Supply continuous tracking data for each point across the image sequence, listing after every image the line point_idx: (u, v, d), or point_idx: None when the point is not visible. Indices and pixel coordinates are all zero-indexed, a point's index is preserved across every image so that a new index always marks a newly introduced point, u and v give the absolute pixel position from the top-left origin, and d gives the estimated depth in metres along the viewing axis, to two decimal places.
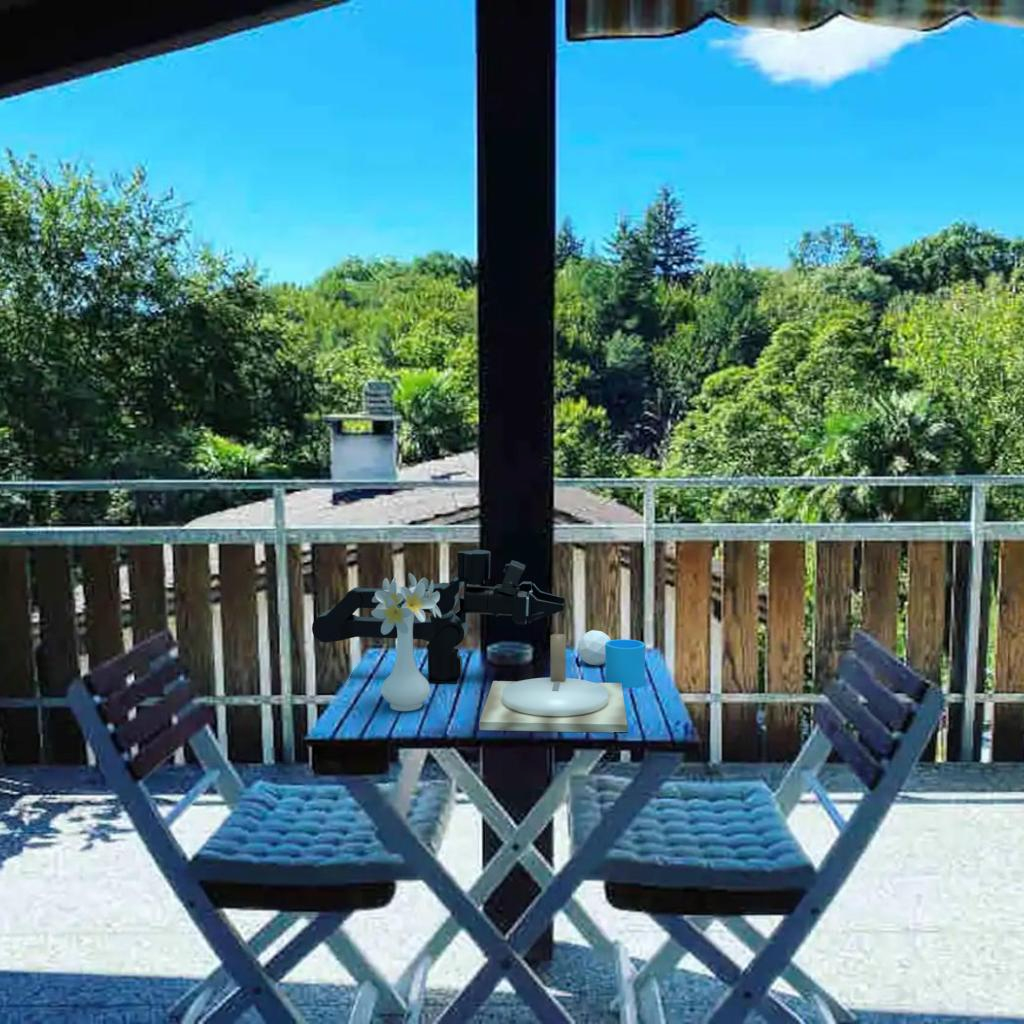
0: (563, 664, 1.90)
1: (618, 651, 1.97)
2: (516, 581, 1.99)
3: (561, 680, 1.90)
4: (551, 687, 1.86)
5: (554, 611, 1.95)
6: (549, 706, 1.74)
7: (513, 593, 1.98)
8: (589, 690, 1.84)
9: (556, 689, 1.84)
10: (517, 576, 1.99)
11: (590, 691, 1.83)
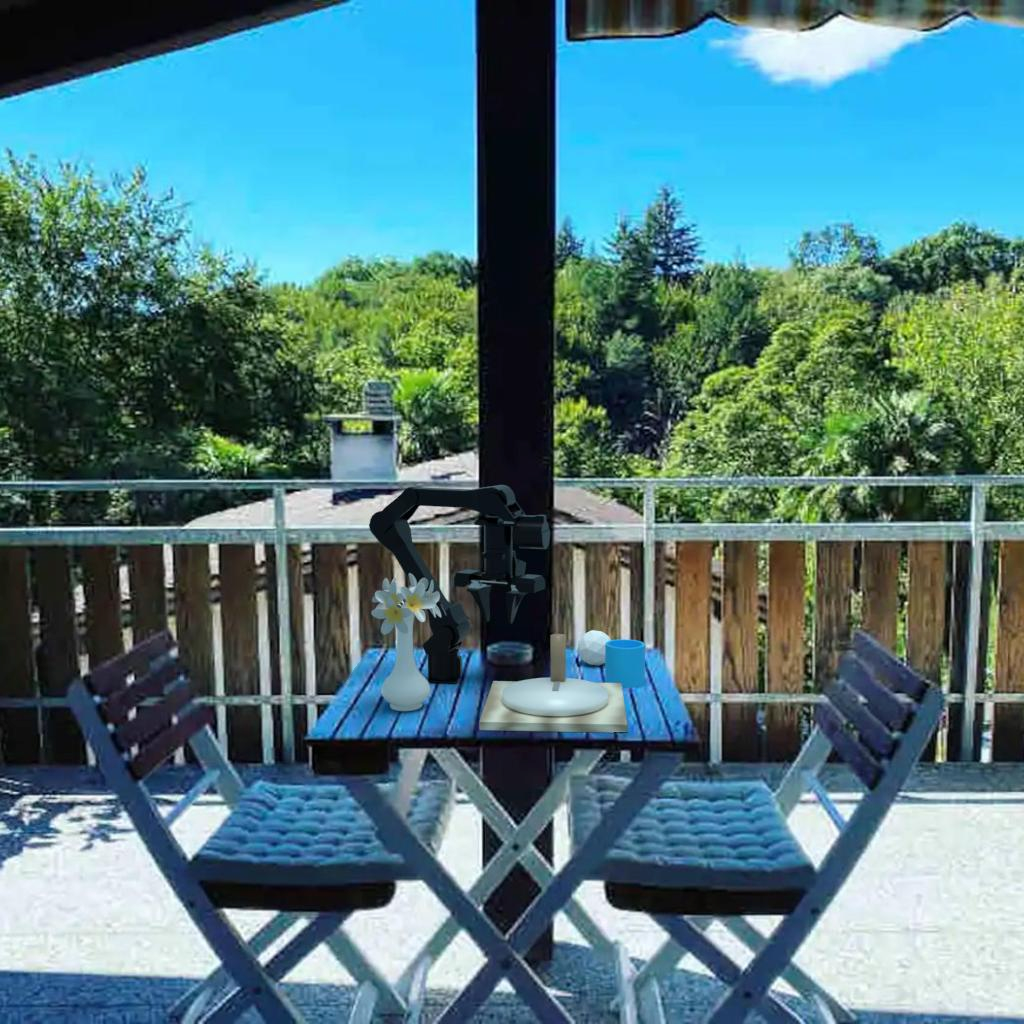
0: (563, 664, 1.90)
1: (618, 651, 1.97)
2: (519, 572, 2.01)
3: (561, 680, 1.90)
4: (551, 687, 1.86)
5: (512, 616, 1.97)
6: (549, 706, 1.74)
7: (515, 571, 1.99)
8: (589, 690, 1.84)
9: (556, 689, 1.84)
10: (521, 572, 2.02)
11: (590, 691, 1.83)
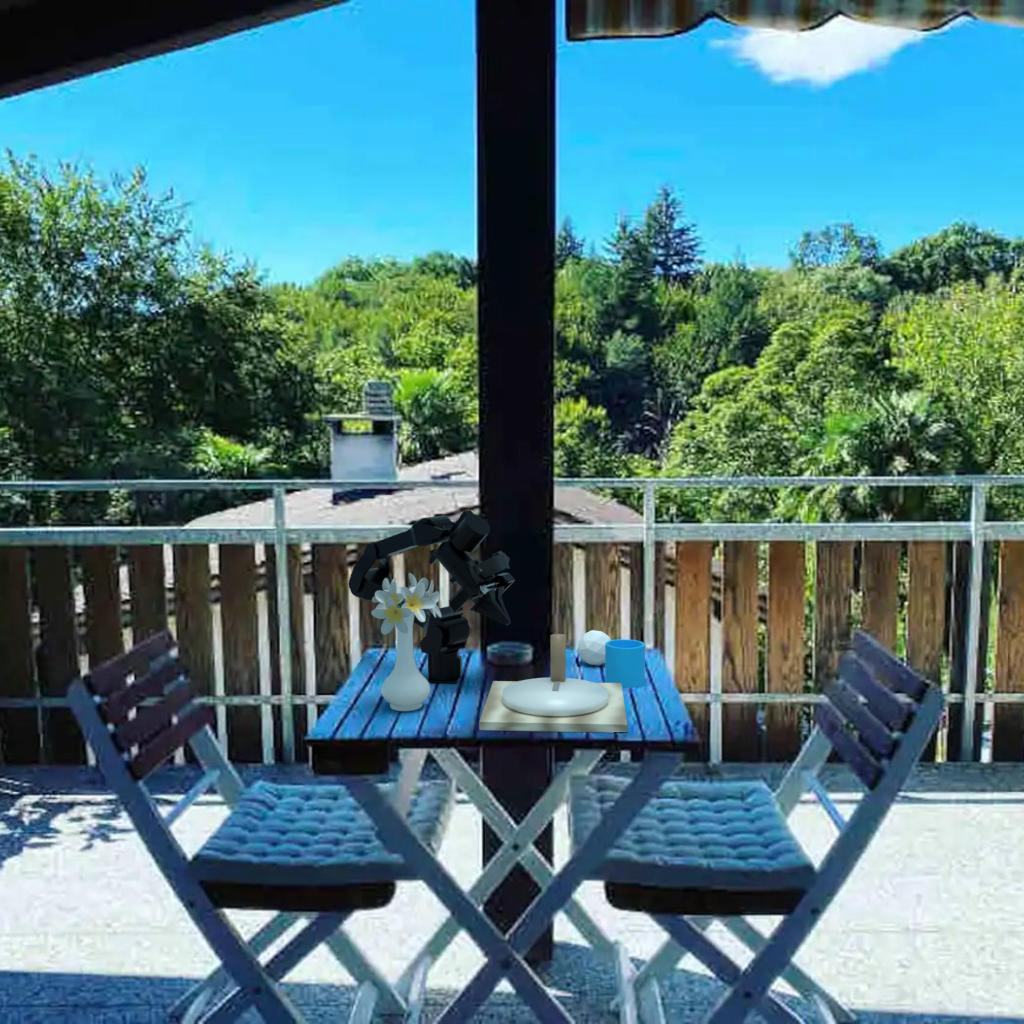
0: (563, 664, 1.90)
1: (618, 651, 1.97)
2: (486, 574, 1.94)
3: (561, 680, 1.90)
4: (551, 687, 1.86)
5: (498, 620, 1.95)
6: (549, 706, 1.74)
7: (476, 580, 1.94)
8: (589, 690, 1.84)
9: (556, 689, 1.84)
10: (490, 571, 1.93)
11: (590, 691, 1.83)
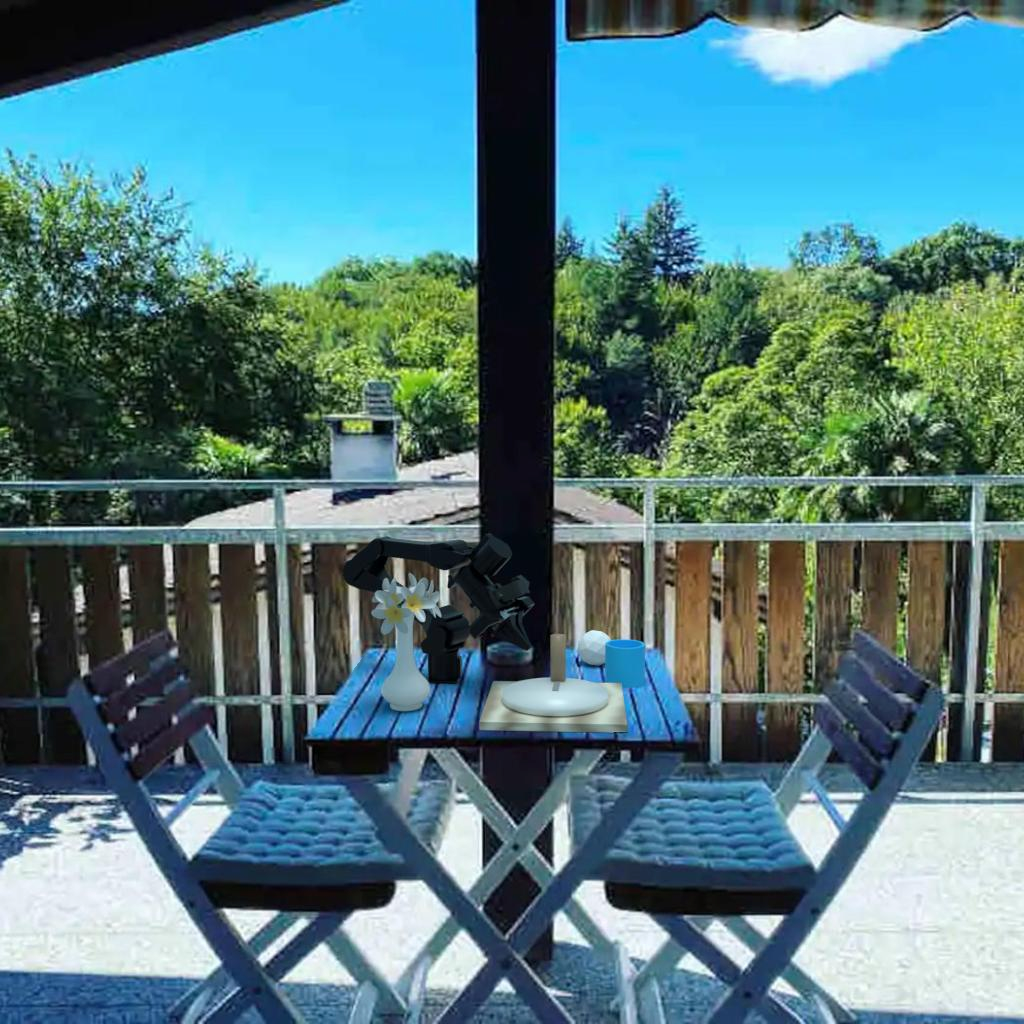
0: (563, 664, 1.90)
1: (618, 651, 1.97)
2: (506, 599, 1.92)
3: (561, 680, 1.90)
4: (551, 687, 1.86)
5: (519, 645, 1.93)
6: (549, 706, 1.74)
7: (496, 605, 1.93)
8: (589, 690, 1.84)
9: (556, 689, 1.84)
10: (510, 596, 1.92)
11: (590, 691, 1.83)
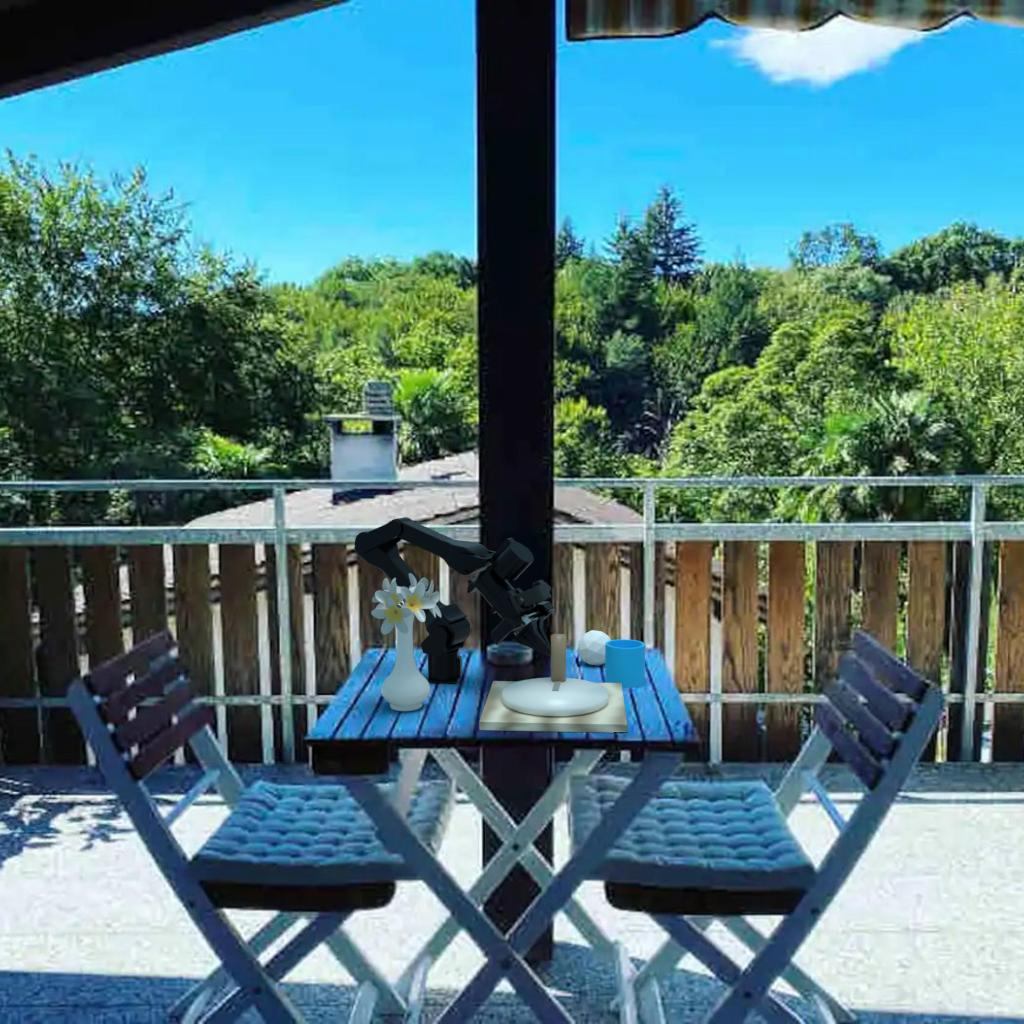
0: (563, 664, 1.90)
1: (618, 651, 1.97)
2: (528, 604, 1.90)
3: (561, 680, 1.90)
4: (551, 687, 1.86)
5: (540, 650, 1.91)
6: (549, 706, 1.74)
7: (517, 610, 1.91)
8: (589, 690, 1.84)
9: (556, 689, 1.84)
10: (531, 601, 1.90)
11: (590, 692, 1.83)
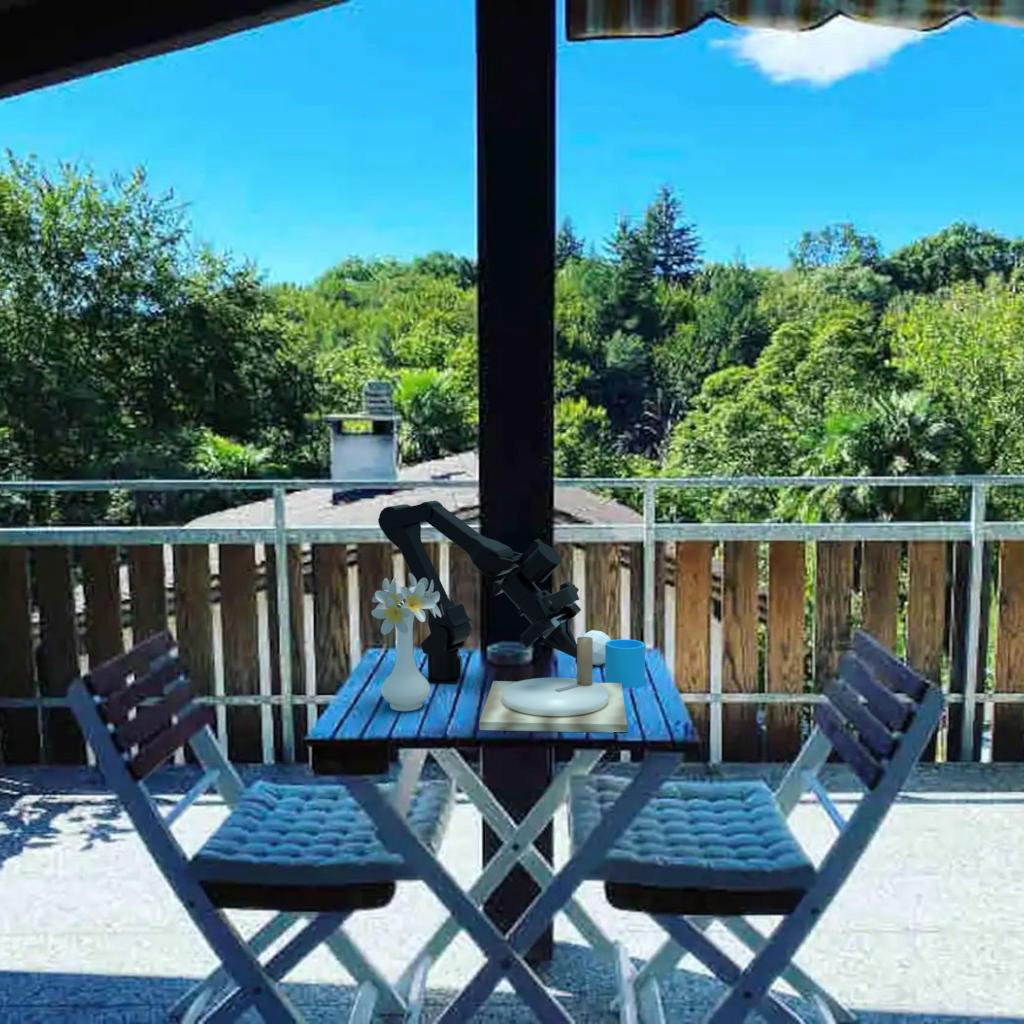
0: (585, 668, 1.87)
1: (618, 651, 1.97)
2: (556, 606, 1.88)
3: (582, 684, 1.87)
4: (562, 688, 1.86)
5: (569, 653, 1.89)
6: (517, 701, 1.78)
7: (546, 613, 1.88)
8: (586, 697, 1.80)
9: (559, 690, 1.84)
10: (560, 603, 1.87)
11: (582, 698, 1.79)
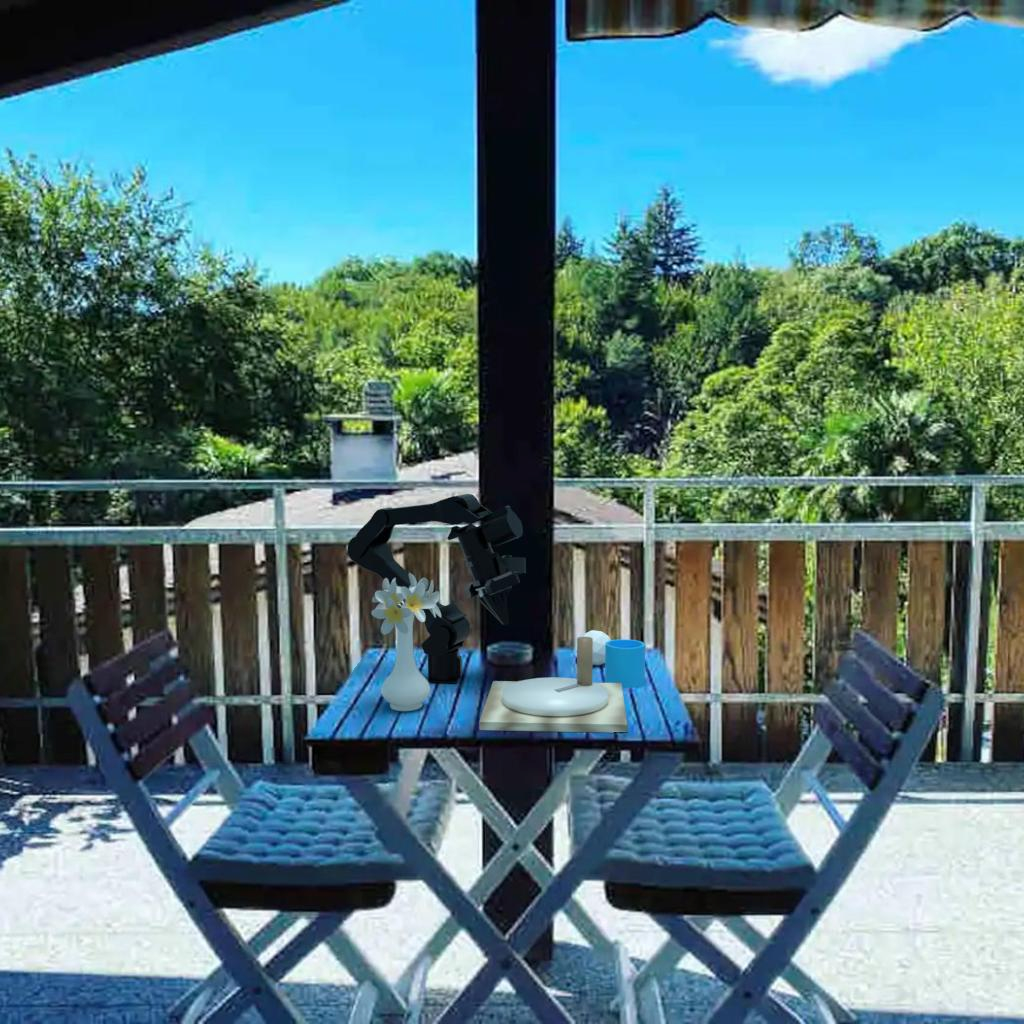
0: (585, 668, 1.87)
1: (618, 651, 1.97)
2: (512, 570, 1.97)
3: (582, 684, 1.87)
4: (562, 688, 1.86)
5: (501, 617, 1.97)
6: (517, 701, 1.78)
7: (501, 572, 1.96)
8: (586, 697, 1.80)
9: (559, 690, 1.84)
10: (516, 569, 1.98)
11: (582, 698, 1.79)
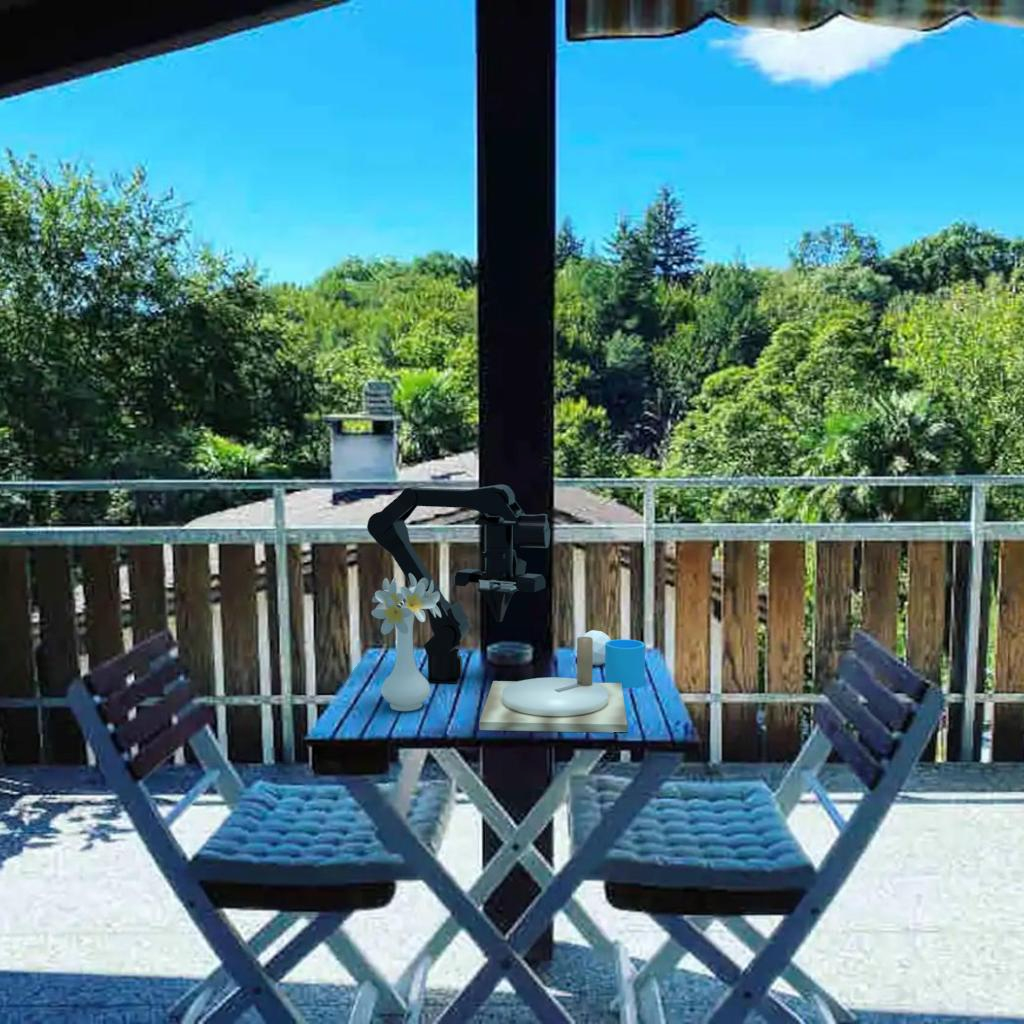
0: (585, 668, 1.87)
1: (618, 651, 1.97)
2: (519, 571, 2.02)
3: (582, 684, 1.87)
4: (562, 688, 1.86)
5: (501, 613, 1.99)
6: (517, 701, 1.78)
7: (516, 571, 2.00)
8: (586, 697, 1.80)
9: (559, 690, 1.84)
10: (521, 571, 2.03)
11: (582, 698, 1.79)
